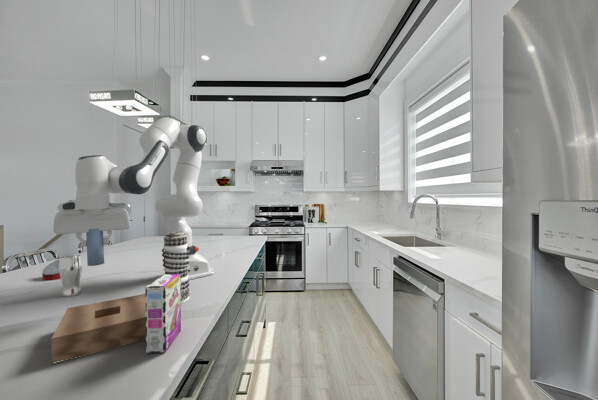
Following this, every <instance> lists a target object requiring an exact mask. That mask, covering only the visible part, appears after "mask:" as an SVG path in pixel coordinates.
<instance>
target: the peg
mask: <svg viewBox="0 0 598 400" xmlns="http://www.w3.org/2000/svg"><path fill="white" fill-rule="evenodd" d="M85 234H86V235H85V236H86V241H87V246H86V256H87V258H86V259H87V260H86V261H87V266H88V267H94V266H100V265H104V264H105V247H104V245H105V244H104V245H103V239H104V231H100V230H99V229H89V232H85Z"/></svg>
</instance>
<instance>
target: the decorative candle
mask: <svg viewBox="0 0 598 400" xmlns="http://www.w3.org/2000/svg"><path fill="white" fill-rule="evenodd" d="M186 238H187V235H186V234H185V233H184V232H182V231H176V232H169V233H167V234H166V233H165V236H163V241H164V242H163V243H164V245H163V248H162V249H161V252H162V253H161V257H163V258H162V267H163V271H164V275H166V274H181V304H183V303H186V302H188V301H189V300H190V288H189V286H190V283H189V282H190V280H189V279H188V274H187V272H188V271H187V268H188V267H189V266H188V265H187V264H189V262H188V261H187V259H188V258H189V256H187V255H188V254H189V252H187V249H189V248H190V247H188V246H187V239H186Z"/></svg>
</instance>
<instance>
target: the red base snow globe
mask: <svg viewBox="0 0 598 400" xmlns="http://www.w3.org/2000/svg"><path fill="white" fill-rule="evenodd" d="M41 275H42V278H41V279H42V281H47V282H48V281H57V280H61V277H60V273H59V259H57V260H54V261H52V262H50V263H49V264H48V265H46V266H44V268H43V269H42V273H41Z"/></svg>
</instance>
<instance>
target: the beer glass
mask: <svg viewBox="0 0 598 400" xmlns="http://www.w3.org/2000/svg"><path fill="white" fill-rule="evenodd" d="M58 260H59V273H60V277H61V279H60V280H61V283H62V285H61V286H62V288H61V289H62V290H61V297H63V298H66V297H72V296H73V297H74V296H77V295H79V294H81V293H82V288H81V278H82V271H83V260H82V255H81V254H78V253H77V254H68V255H63V256H60V257H58Z"/></svg>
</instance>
